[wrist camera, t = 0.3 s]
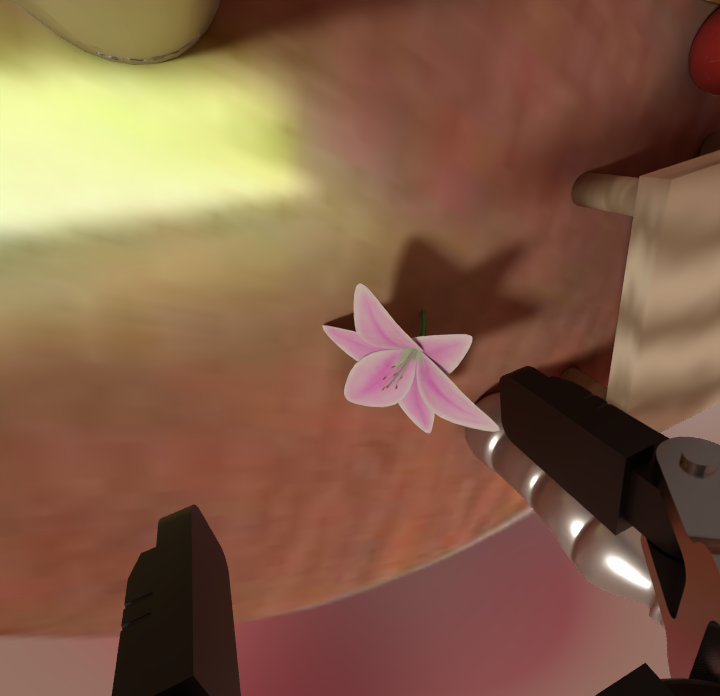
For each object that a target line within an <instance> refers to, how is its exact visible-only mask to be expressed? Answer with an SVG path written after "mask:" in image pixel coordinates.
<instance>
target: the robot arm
mask: <svg viewBox="0 0 720 696" xmlns="http://www.w3.org/2000/svg"><path fill="white" fill-rule="evenodd" d="M12 1H14V2H15V3H16V4H18V5H19V6H20V7H21V8H23V9H24V10H25V11H27V12H28V13H29V14H31V15H32V16H33V17H35V18H36V19H37V20H38V21H40V22H41V23H42V24H44V25H45V26H46V27H48V28H49V29H50V30H52V31H53V32H54V33H56V34H57V35H58V36H60V37H61V38H63V39H65V40H66V41H68V42H70V43H72V44H73V45H75V46H77V47H78V48H80V49H82V50H84V51H85V52H88V53H90V54H93V55H96V56H98V57H101V58H104V59H106V60H109V61H113V62H119V63H125V64H131V65H143V64H157V63H160V62H163V61H166V60H170V59H173V58H176V57H178V56H179V55H181V54H182V53H184V52H185V51H187V50H188V49H190V48H191V47H193V46H194V45H195V44H196V43H197V42H198V41H199V39H200V38H201V37H202V36H203V35H204V34H205V32H206V31H207V30H208V28H209V26H210V24H211V22H212V20H213V18H214V16H215V15H216V13H217V11H218V8H219V5H220V2H221V0H12ZM499 388H500V406H501V422H502V426H503V429H504V431H505V433H506V435H507V437H508V438H509V440H510V441H511V442H512V443H513V444H514V445H515V446H516V447H517V448H518V449H520V450H521V451H522V452H523V453H524V454H525V455H526V456H527V457H528V458H530V459H531V460H532V461H533V462H534V463H535V464H536V465H537V466H538V467H540V468H541V469H542V470H543V471H544V472H545V473H546V474H547V475H548V476H550V477H551V478H552V479H553V480H554V481H555V482H556V483H557V484H559V485H560V486H561V487H562V488H563V489H564V490H565V491H566V492H567V493H569V494H570V495H571V496H572V497H573V498H574V499H575V500H576V501H577V502H579V503H580V504H581V505H582V506H583V507H584V508H585V509H586V510H587V511H589V512H590V513H591V514H592V515H593V516H594V517H595V518H596V519H598V520H599V521H600V522H601V523H602V524H603V525H604V526H605V527H606V528H608V529H609V530H610V531H611V532H612V533H613V534H614V535H615V536H616V535H618V534H620V533H621V532H623V531H625V530H627V529H629V528H630V527H632V526H633V527H634V528H635V529H636V530H638V531H639V532H640V533H641V539H640V541H641V546H642V550H643V553H644V557H645V560H646V563H647V567H648V570H649V574H650V577H651V581H652V584H653V588H654V591H655V594H656V598H657V601H658V605H659V608H660V612H661V615H662V619H663V622H664V626H665V630H666V637H667V657H668V664H669V670H670V675H671V678H669V679H659V677H658V676H657V675H656V674H655V673H654V672H653V671H652V670H651V669H650V667H649V666H648V665H647V664H646V663H644V664H643V665H641V666H640V667H638V668H637V669H635V670H634V671H632V672H631V673H629V674H628V675H626V676H624V677H623V678H621V679H620V680H618V681H617V682H615V683H614V684H612V685H611V686H609V687H608V688H606V689H605V690H603V691H601V692H600V693H598V694H597V695H596V696H720V445H719V444H716V443H714V442H711V441H708V440H704V439H700V438H694V437H676V438H671V439H669V438H668V437H665V436H664V435H662V434H661V433H659V432H657V431H656V430H654V429H652V428H651V427H649V426H647V425H646V424H644V423H642V422H640V421H639V420H637V419H635V418H634V417H632V416H630V415H629V414H627V413H625V412H624V411H622V410H620V409H619V408H617V407H615V406H614V405H612V404H608V403H607V401H605V400H604V399H602V398H600V397H599V396H597V395H595V396H594V395H593V393H592V392H590V391H588V390H587V389H585V388H583V387H582V386H580V385H578V384H577V383H575V382H572V381H569V380H565V379H562V378H558V377H555V376H552V377H550V378H549V377H547V376H546V375H544V374H543V373H541V372H539V371H538V370H536V369H535V368H533V367H530V366H525V367H523V368H520V369H518V370H516V371H513V372H511V373H509V374H506V375H504V376H502V377H501V378H500V381H499ZM124 605H125V609H124V611H123V618H122V625H121V626H122V631H121V633H120V640H119V647H118V654H117V662H116V669H115V676H114V683H113V690H112V696H241V692H240V682H239V672H238V662H237V652H236V642H235V632H234V621H233V611H232V600H231V590H230V580H229V571H228V566H227V562H226V559H225V556H224V553H223V550H222V548H221V546H220V544H219V542H218V541H217V539H216V537H215V536H214V534H213V532H212V530H211V529H210V527H209V525H208V523H207V522H206V520H205V518H204V516H203V515H202V513H201V511H200V510H199V508H198V507H197V506H196V505H192V506H189V507H187V508H185V509H182V510H180V511H177V512H175V513H173V514H170V515H168V516H166V517H163V518H161V519H160V520H159V523H158V532H157V544H156V547H155V548H152V549H150V550H148V551H145V552H143V553H141V554H140V556H139V558H138V560H137V562H136V564H135V566H134V568H133V570H132V572H131V574H130V576H129V578H128V582H127V589H126V597H125V604H124Z"/></svg>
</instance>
